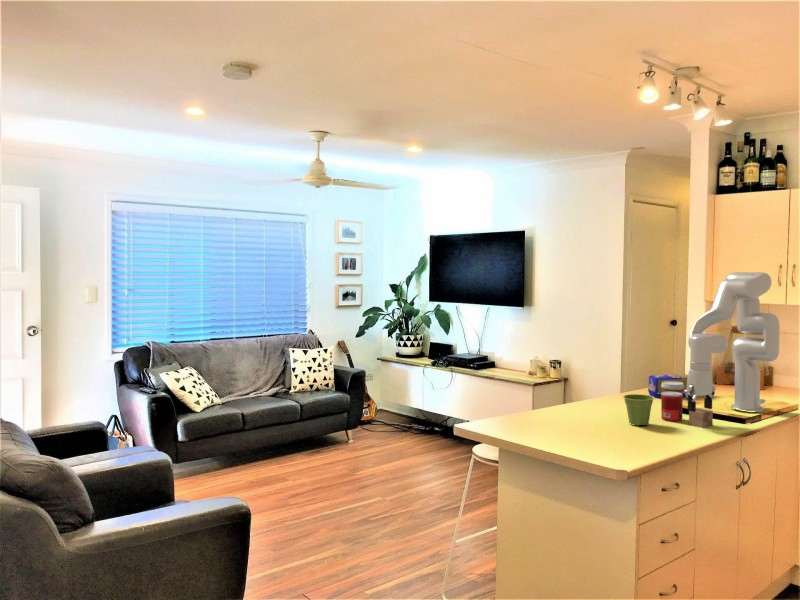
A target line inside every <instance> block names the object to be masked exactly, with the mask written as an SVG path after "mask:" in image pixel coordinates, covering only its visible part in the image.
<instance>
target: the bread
mask: <svg viewBox="0 0 800 600" xmlns="http://www.w3.org/2000/svg"><path fill="white" fill-rule="evenodd" d="M687 379H688V374H686V373H677V374H676V373H674V374H673V373H672V374H669V373H668V374H666V373H665V374H652V375H649V376H648V387H647V391H648V394H649V396H653V397H654V399H661V394H662V392H663V391H662V387H661V385H662V382H664V381H677V382H682V383H683V384H684V386H685V387H684V389H683V395H682V398H686V397H685V393H684V390H686V389H687ZM692 398H693V396H692Z"/></svg>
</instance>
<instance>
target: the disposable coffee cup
mask: <svg viewBox="0 0 800 600" xmlns="http://www.w3.org/2000/svg"><path fill="white" fill-rule="evenodd" d="M661 387H662V391H663V392H679V393H682V395H683V389H684V387H685V386H684V384H683V383H682V382H677V381H664V382H662V385H661Z"/></svg>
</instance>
